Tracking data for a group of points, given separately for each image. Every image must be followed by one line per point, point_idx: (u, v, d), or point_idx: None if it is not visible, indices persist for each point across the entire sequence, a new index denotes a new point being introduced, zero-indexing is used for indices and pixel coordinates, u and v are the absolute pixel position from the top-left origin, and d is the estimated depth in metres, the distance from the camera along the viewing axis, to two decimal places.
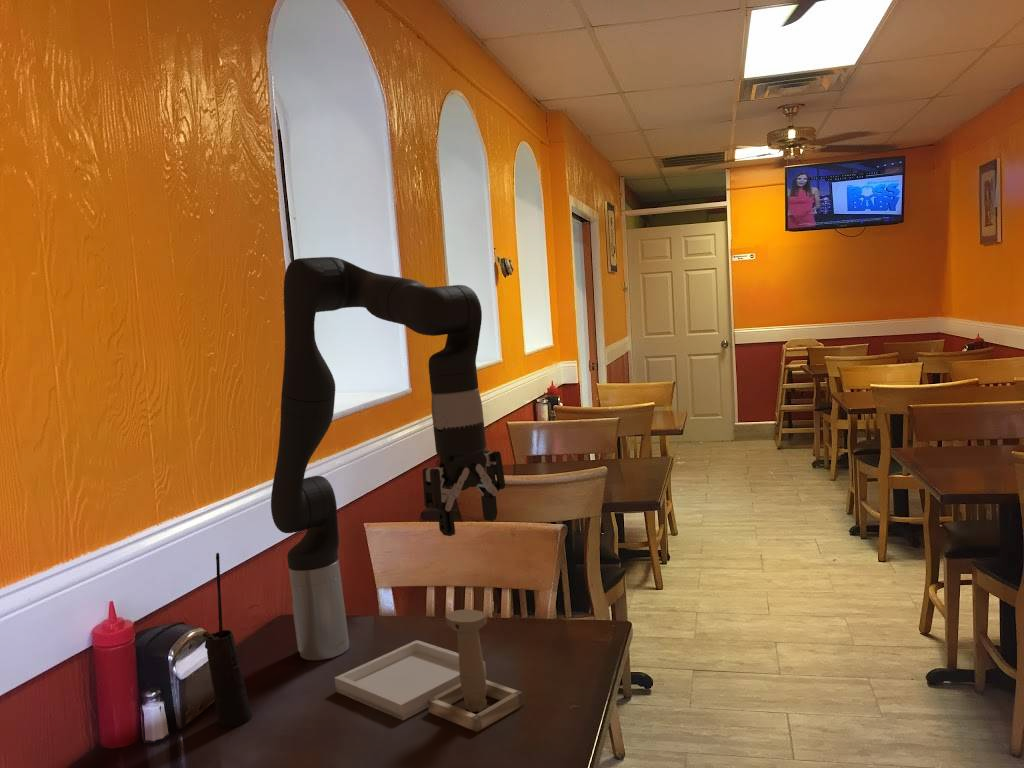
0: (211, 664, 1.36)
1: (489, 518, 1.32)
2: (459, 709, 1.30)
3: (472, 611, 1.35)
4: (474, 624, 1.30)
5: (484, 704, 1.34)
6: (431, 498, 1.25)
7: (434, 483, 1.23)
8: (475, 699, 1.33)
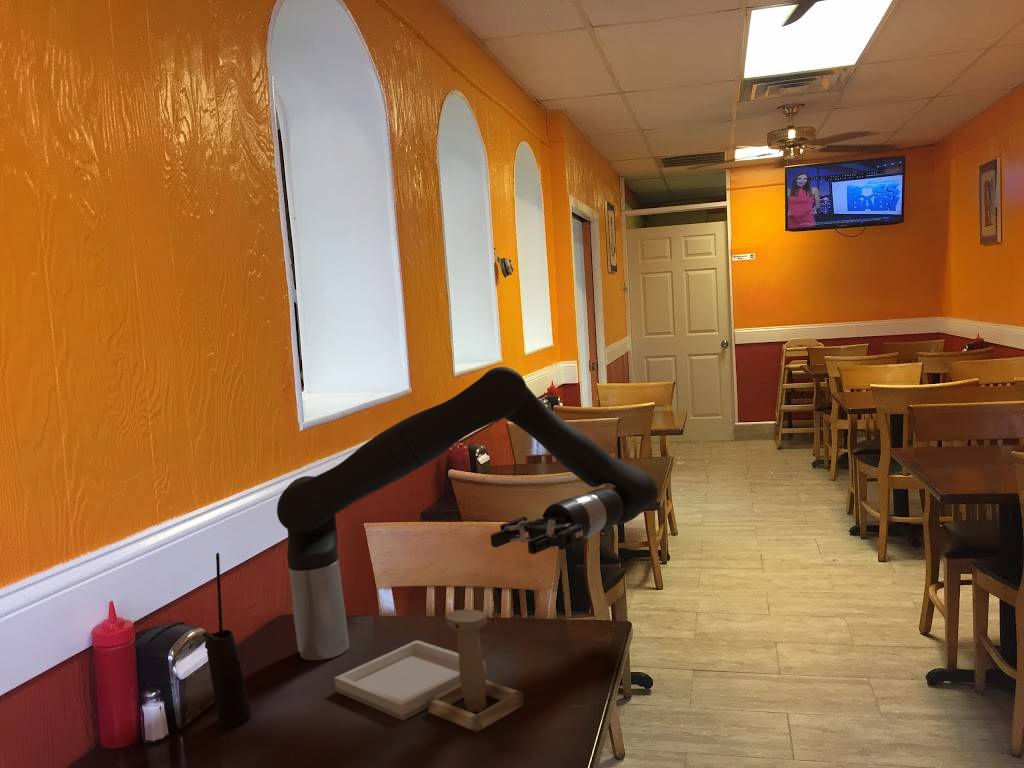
0: (211, 664, 1.36)
1: (495, 542, 1.43)
2: (459, 709, 1.30)
3: (472, 611, 1.35)
4: (474, 624, 1.30)
5: (484, 704, 1.34)
6: None
7: (576, 542, 1.41)
8: (475, 699, 1.33)
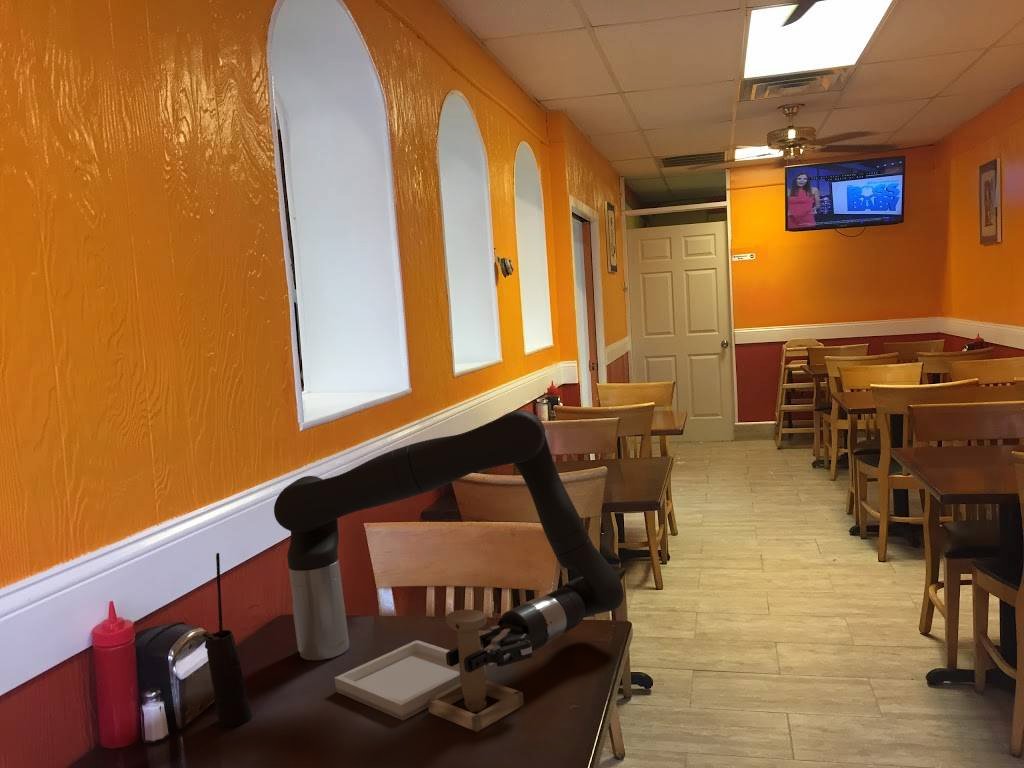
0: (211, 664, 1.36)
1: (451, 661, 1.33)
2: (459, 709, 1.30)
3: (472, 611, 1.35)
4: (474, 624, 1.30)
5: (484, 704, 1.34)
6: None
7: (521, 659, 1.33)
8: (475, 699, 1.33)
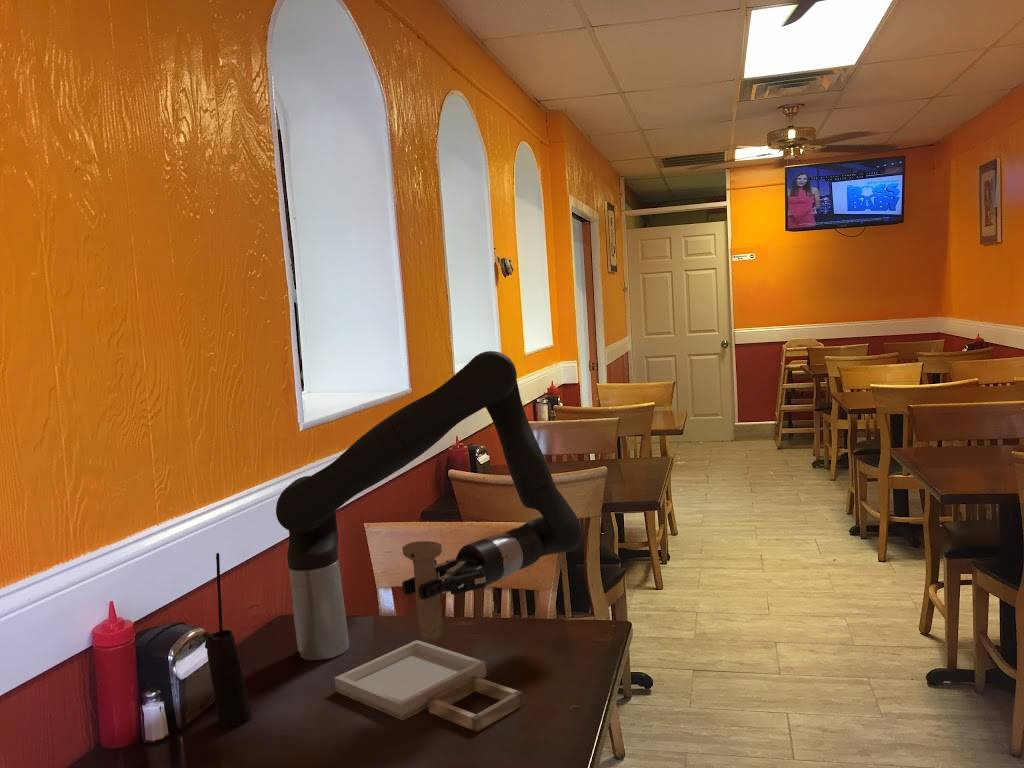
0: (211, 664, 1.36)
1: (407, 590, 1.38)
2: (459, 709, 1.30)
3: (428, 542, 1.39)
4: (429, 553, 1.35)
5: (439, 632, 1.38)
6: None
7: None
8: (430, 626, 1.37)
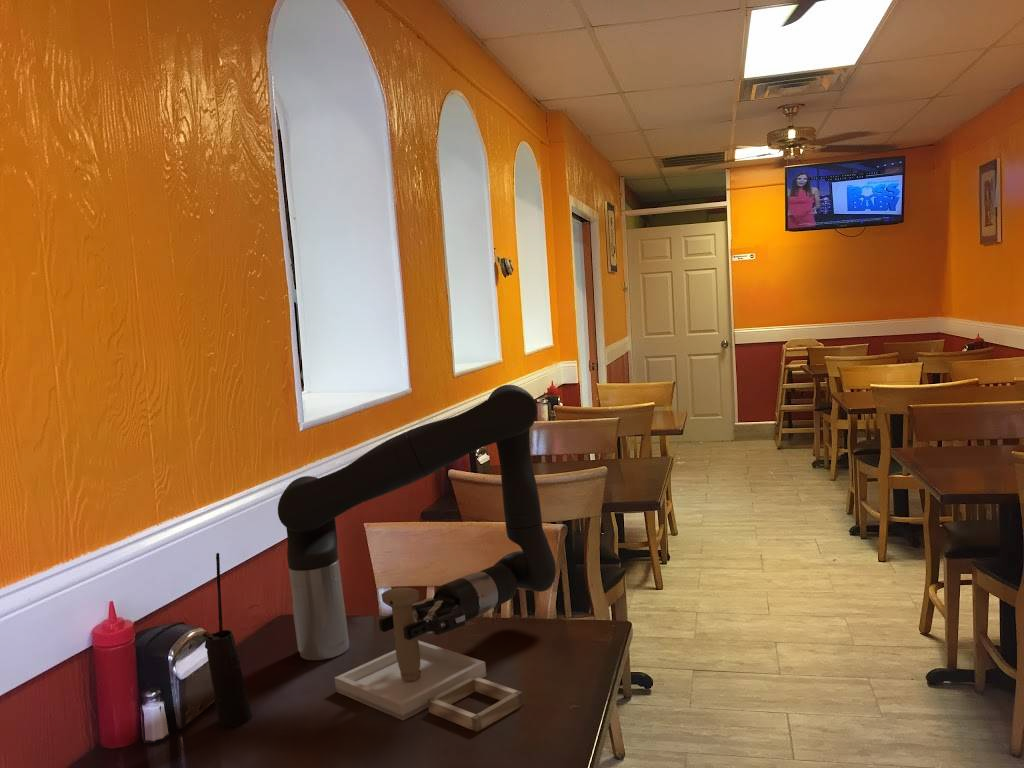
0: (211, 664, 1.36)
1: (383, 627, 1.45)
2: (459, 709, 1.30)
3: (406, 589, 1.46)
4: (407, 600, 1.42)
5: (418, 674, 1.45)
6: None
7: (456, 627, 1.44)
8: (409, 669, 1.44)
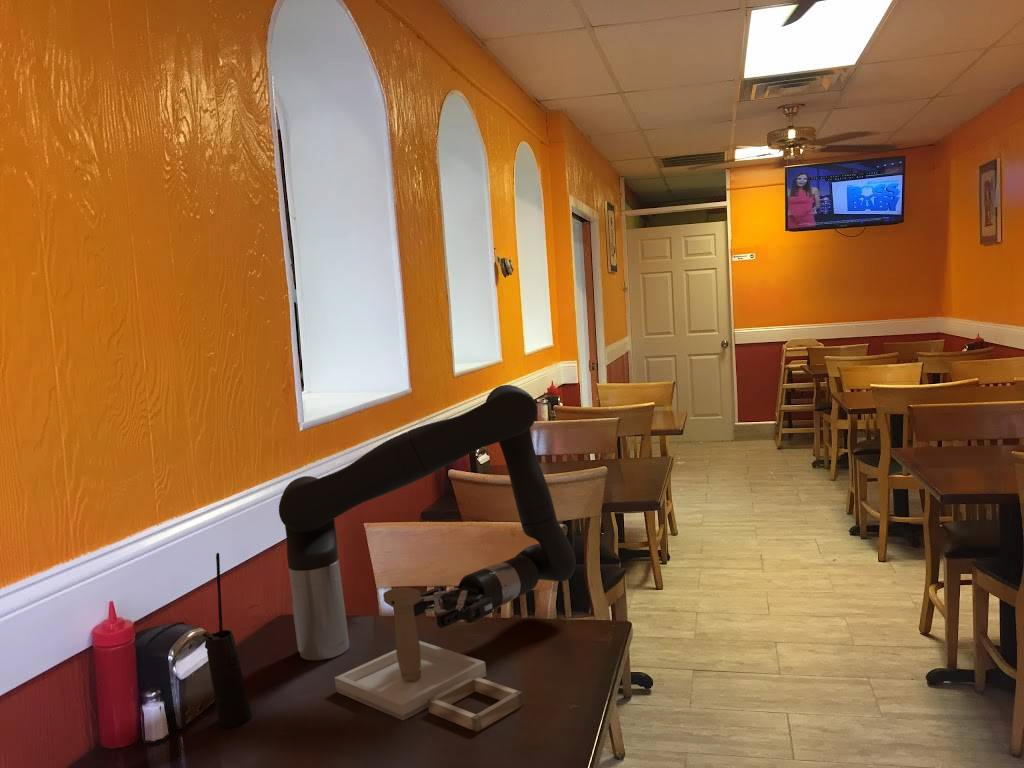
0: (211, 664, 1.36)
1: None
2: (459, 709, 1.30)
3: (408, 589, 1.46)
4: (408, 600, 1.42)
5: (418, 674, 1.45)
6: None
7: (485, 615, 1.49)
8: (410, 670, 1.44)
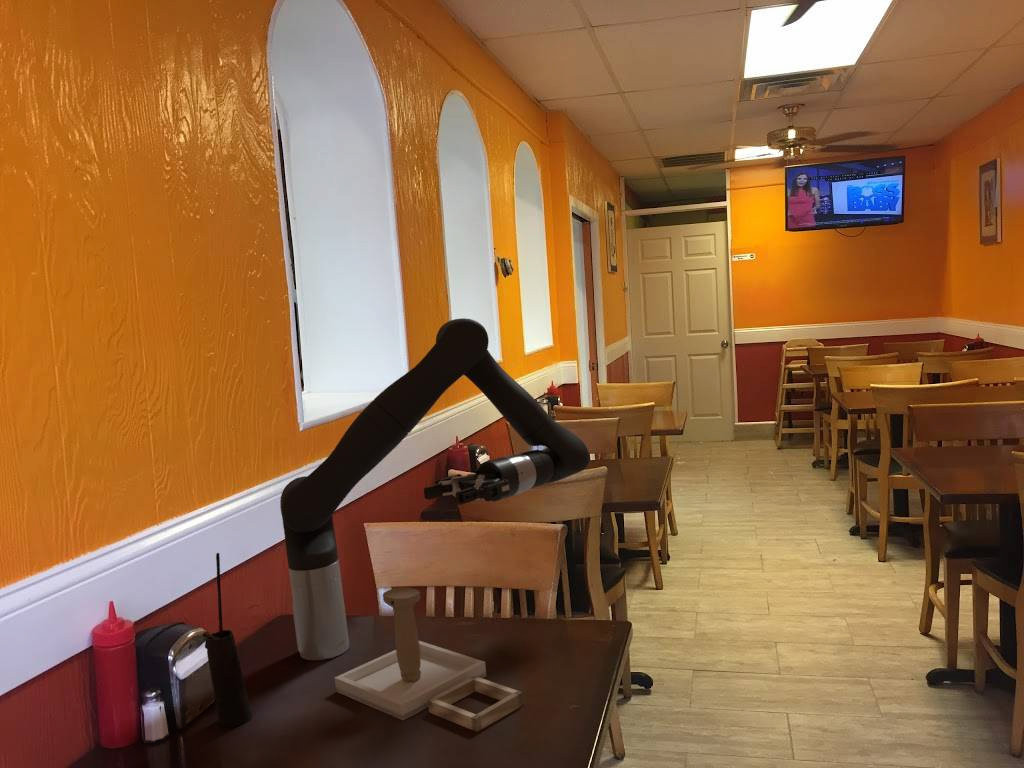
0: (211, 664, 1.36)
1: (428, 495, 1.54)
2: (459, 709, 1.30)
3: (408, 589, 1.46)
4: (408, 600, 1.42)
5: (418, 674, 1.45)
6: None
7: (503, 495, 1.52)
8: (409, 670, 1.44)
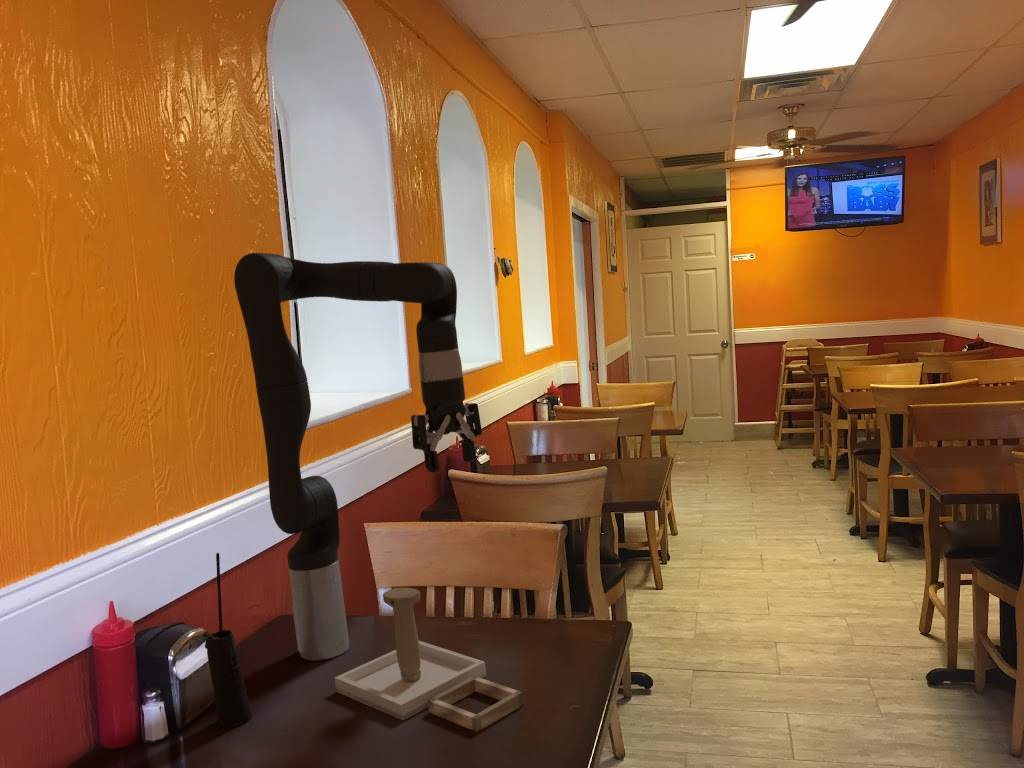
0: (211, 664, 1.36)
1: (468, 460, 1.56)
2: (459, 709, 1.30)
3: (408, 589, 1.46)
4: (408, 600, 1.42)
5: (418, 674, 1.45)
6: (418, 440, 1.49)
7: (421, 427, 1.47)
8: (409, 670, 1.44)
